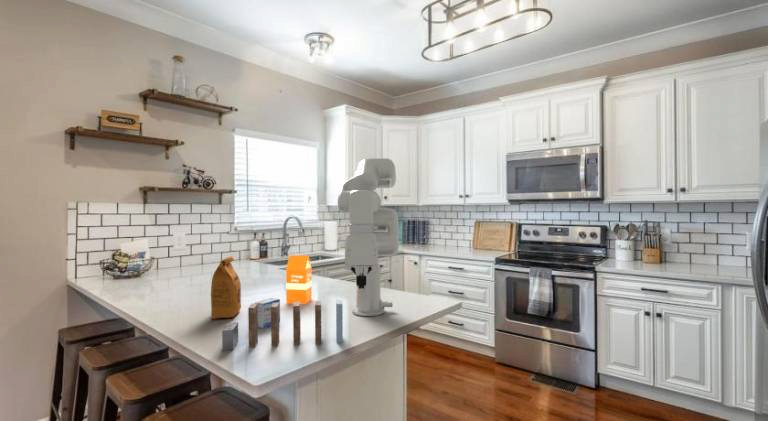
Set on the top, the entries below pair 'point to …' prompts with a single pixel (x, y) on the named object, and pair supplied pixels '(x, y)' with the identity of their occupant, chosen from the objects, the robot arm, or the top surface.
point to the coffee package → (225, 291)
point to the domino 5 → (339, 321)
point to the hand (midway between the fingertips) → (361, 287)
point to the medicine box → (266, 312)
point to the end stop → (230, 336)
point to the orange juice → (298, 279)
